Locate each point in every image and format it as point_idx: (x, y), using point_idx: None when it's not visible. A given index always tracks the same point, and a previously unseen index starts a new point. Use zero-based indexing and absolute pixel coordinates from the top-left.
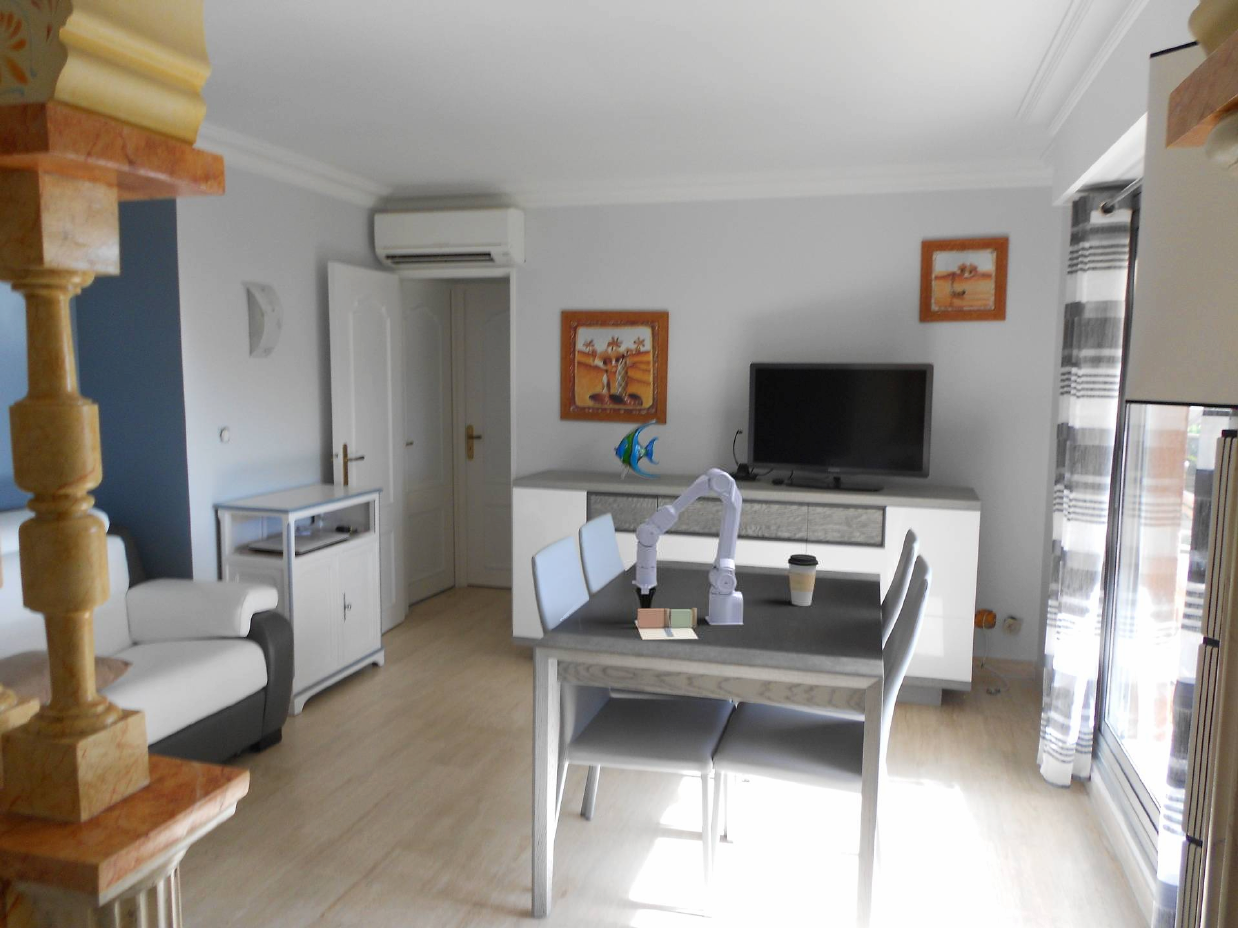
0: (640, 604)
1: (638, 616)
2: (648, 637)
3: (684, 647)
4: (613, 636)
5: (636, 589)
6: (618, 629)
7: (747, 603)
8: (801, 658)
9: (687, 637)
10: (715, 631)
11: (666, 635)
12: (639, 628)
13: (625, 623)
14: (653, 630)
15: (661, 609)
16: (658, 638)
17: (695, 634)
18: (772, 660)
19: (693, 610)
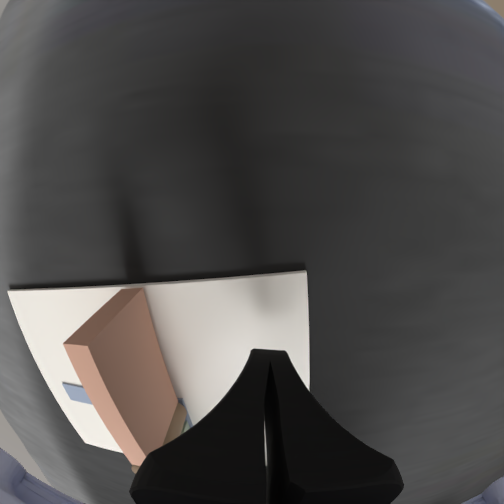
0: (234, 385)
1: (89, 320)
2: (29, 315)
3: (17, 388)
4: (22, 165)
5: (185, 496)
6: (115, 172)
7: (431, 501)
8: (73, 496)
9: (81, 426)
10: None
11: (72, 381)
12: None
13: (252, 211)
14: None
15: (129, 457)
16: (34, 347)
17: (119, 451)
18: (43, 470)
19: None
